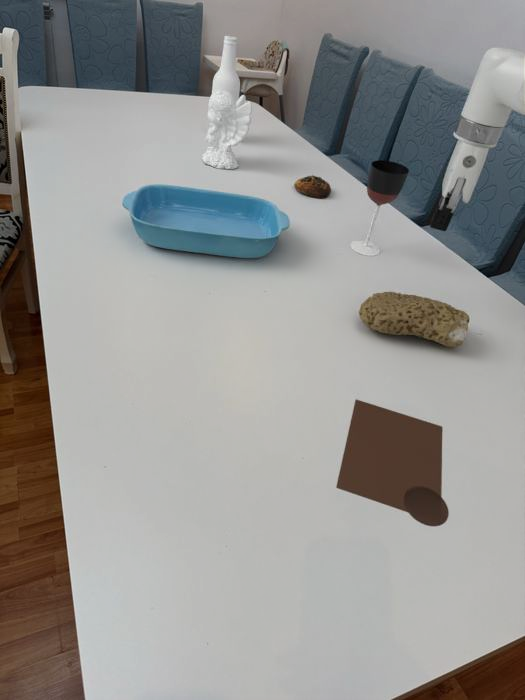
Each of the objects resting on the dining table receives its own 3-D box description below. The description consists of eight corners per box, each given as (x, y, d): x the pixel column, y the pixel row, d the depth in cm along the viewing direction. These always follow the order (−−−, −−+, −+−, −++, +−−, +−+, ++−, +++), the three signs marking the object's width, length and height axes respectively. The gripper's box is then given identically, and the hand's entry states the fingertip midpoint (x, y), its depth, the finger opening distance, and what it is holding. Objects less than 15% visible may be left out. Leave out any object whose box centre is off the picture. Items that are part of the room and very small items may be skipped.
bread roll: (321, 201, 139) (323, 183, 137) (286, 193, 144) (288, 176, 141) (337, 192, 148) (339, 175, 145) (304, 185, 152) (305, 169, 149)
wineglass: (388, 253, 121) (416, 172, 109) (361, 258, 117) (387, 175, 105) (368, 238, 126) (392, 159, 114) (341, 242, 122) (363, 161, 110)
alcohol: (204, 138, 167) (211, 35, 148) (214, 132, 174) (222, 32, 155) (228, 144, 166) (239, 41, 147) (237, 138, 173) (249, 38, 154)
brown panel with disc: (355, 399, 80) (355, 399, 80) (448, 428, 78) (448, 428, 78) (334, 493, 65) (335, 493, 65) (448, 532, 63) (448, 532, 63)
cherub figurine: (199, 152, 156) (204, 82, 144) (238, 155, 159) (246, 87, 147) (203, 168, 147) (209, 94, 134) (245, 171, 149) (254, 99, 137)
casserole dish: (281, 224, 125) (286, 197, 121) (288, 270, 108) (295, 241, 103) (131, 207, 120) (131, 178, 116) (115, 252, 103) (113, 220, 99)
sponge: (454, 332, 101) (368, 285, 102) (478, 308, 95) (385, 258, 96) (442, 377, 93) (349, 326, 94) (467, 354, 87) (366, 300, 88)
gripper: (503, 148, 80) (457, 249, 92) (496, 126, 91) (456, 218, 103) (456, 137, 81) (417, 238, 92) (456, 116, 92) (420, 209, 104)
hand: (437, 227), depth 98 cm, fingers closed
